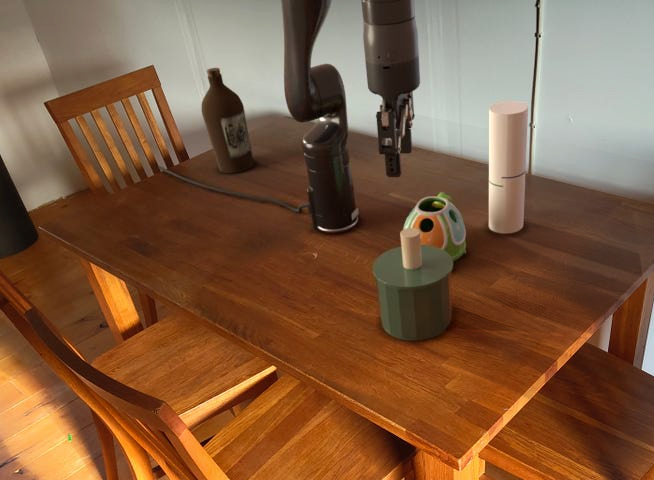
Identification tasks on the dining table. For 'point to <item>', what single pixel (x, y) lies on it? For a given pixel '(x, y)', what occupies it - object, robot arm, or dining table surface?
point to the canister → (415, 310)
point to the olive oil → (226, 125)
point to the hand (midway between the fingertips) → (399, 164)
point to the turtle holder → (439, 224)
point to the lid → (412, 264)
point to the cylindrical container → (507, 165)
